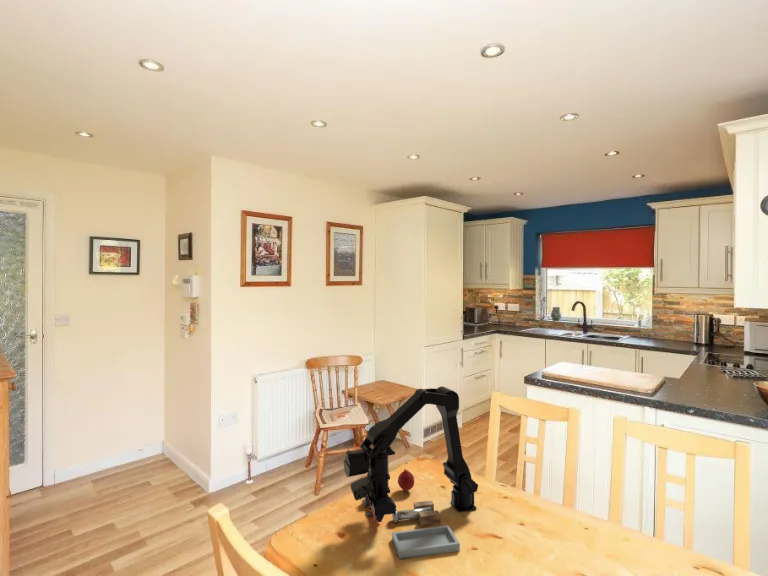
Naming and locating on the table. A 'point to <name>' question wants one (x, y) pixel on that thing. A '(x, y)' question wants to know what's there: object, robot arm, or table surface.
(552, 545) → the table surface
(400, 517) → the pin
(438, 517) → the channel block
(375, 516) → the keeper bar
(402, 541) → the tray
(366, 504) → the keeper guide
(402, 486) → the onion
